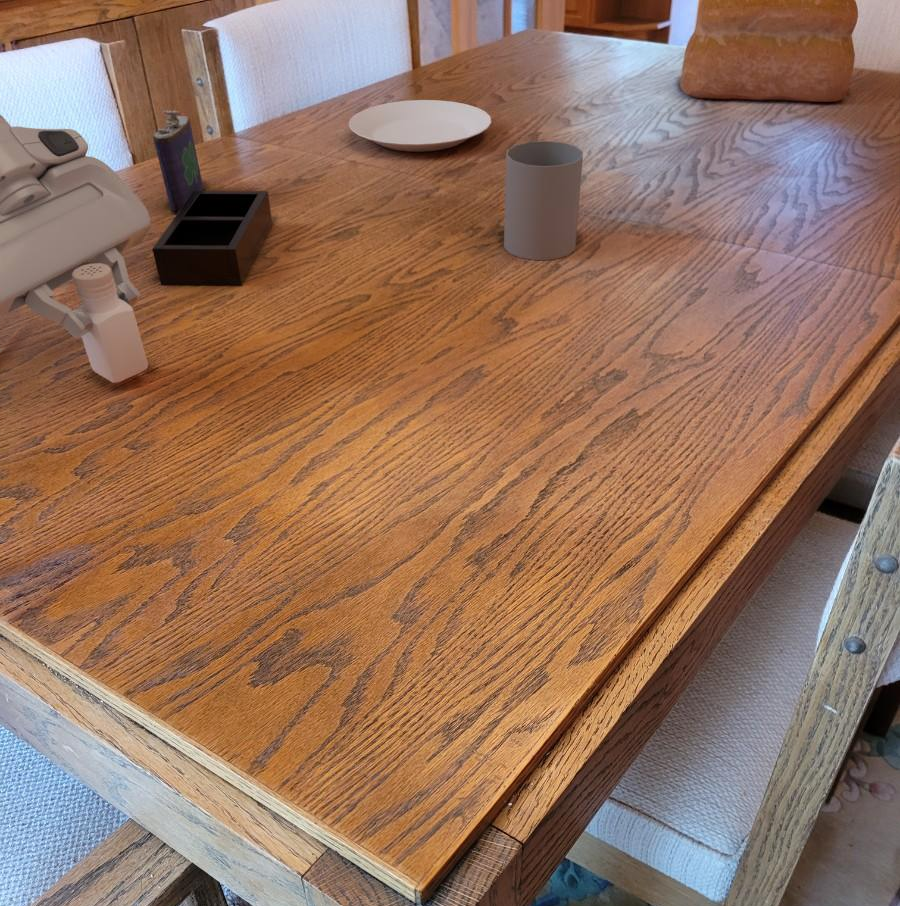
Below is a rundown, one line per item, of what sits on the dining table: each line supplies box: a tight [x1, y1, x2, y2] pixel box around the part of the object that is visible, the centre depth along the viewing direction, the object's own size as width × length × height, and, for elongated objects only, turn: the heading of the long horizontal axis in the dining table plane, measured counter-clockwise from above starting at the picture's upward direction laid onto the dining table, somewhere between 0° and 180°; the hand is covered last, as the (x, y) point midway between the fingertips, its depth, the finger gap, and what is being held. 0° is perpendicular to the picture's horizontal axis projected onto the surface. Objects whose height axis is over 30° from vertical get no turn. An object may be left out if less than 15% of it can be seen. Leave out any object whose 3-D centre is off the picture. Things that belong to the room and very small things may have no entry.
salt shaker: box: [72, 263, 149, 384], centre depth 80 cm, size 4×4×10 cm
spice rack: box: [151, 190, 273, 287], centre depth 103 cm, size 9×17×4 cm, turn 177°
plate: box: [348, 99, 492, 153], centre depth 133 cm, size 21×21×2 cm
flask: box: [152, 109, 205, 215], centre depth 112 cm, size 9×3×11 cm, turn 175°
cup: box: [503, 140, 584, 261], centre depth 101 cm, size 8×8×10 cm
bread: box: [679, 0, 859, 103], centre depth 142 cm, size 14×26×15 cm, turn 80°
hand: (110, 317), depth 79 cm, fingers closed on salt shaker, 4 cm apart
